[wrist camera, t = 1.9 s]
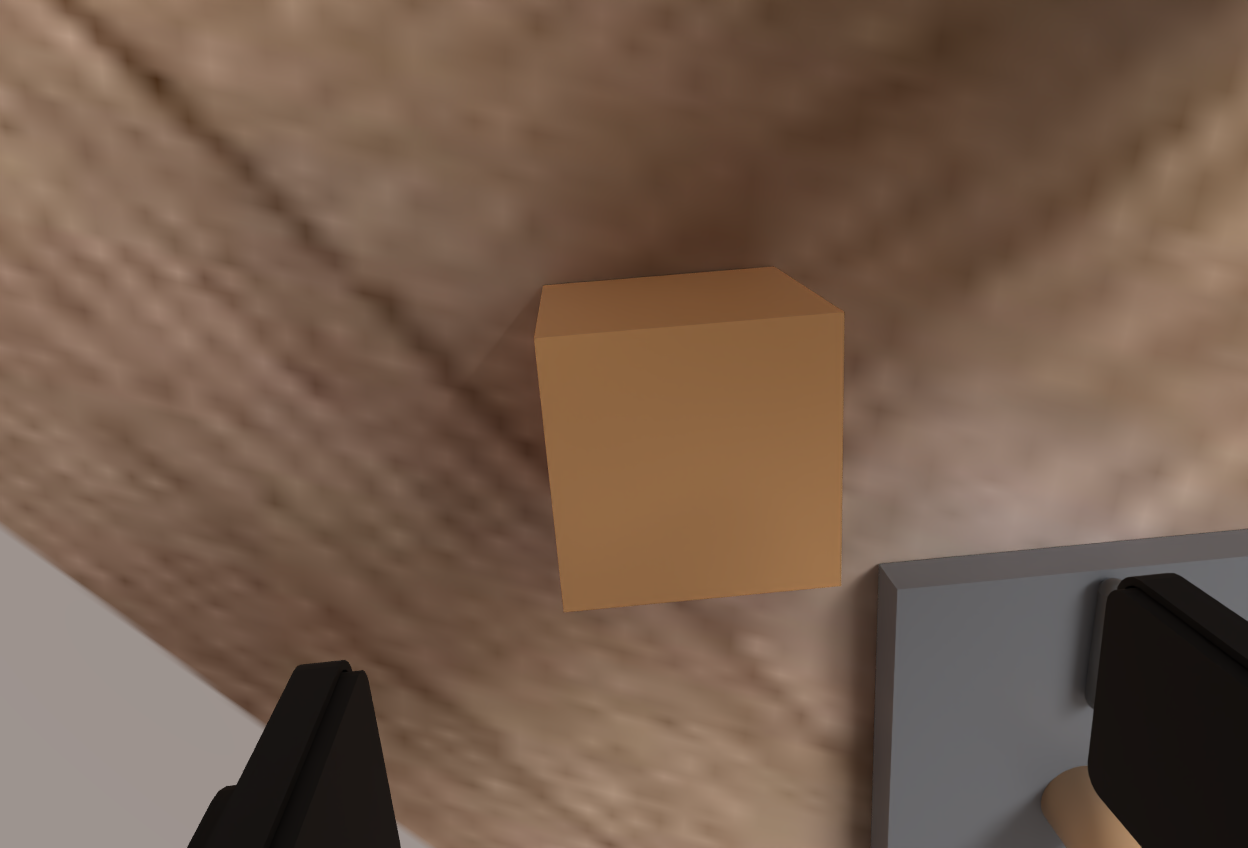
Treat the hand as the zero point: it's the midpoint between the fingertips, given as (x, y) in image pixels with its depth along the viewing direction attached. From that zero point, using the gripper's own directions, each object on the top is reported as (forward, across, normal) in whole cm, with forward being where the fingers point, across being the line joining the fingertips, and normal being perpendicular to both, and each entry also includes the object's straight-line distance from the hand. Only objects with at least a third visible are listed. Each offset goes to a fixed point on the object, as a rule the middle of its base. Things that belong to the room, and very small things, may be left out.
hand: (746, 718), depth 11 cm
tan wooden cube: (+13, -1, -1) cm, 13 cm away
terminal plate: (+13, -13, +13) cm, 23 cm away
